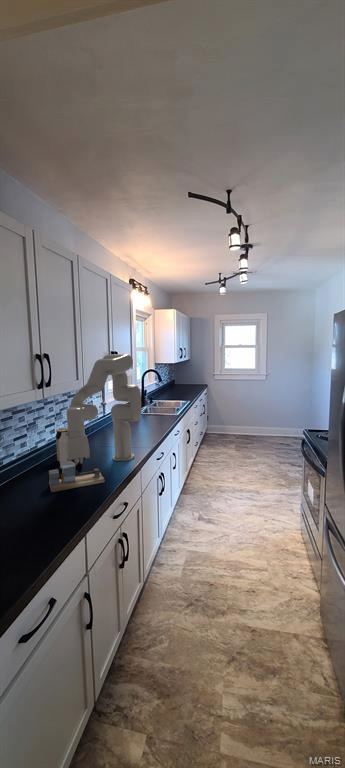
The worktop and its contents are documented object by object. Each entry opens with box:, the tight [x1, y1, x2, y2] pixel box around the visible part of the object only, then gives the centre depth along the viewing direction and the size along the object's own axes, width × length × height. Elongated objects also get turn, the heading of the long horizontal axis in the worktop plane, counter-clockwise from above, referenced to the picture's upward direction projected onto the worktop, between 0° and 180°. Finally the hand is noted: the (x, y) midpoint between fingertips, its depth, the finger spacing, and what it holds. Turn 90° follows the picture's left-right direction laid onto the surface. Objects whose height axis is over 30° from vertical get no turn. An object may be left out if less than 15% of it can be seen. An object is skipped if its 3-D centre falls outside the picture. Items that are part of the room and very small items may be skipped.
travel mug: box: [55, 427, 68, 462], centre depth 199 cm, size 8×8×18 cm
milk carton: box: [59, 432, 79, 469], centre depth 187 cm, size 7×7×19 cm
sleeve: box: [61, 463, 76, 484], centre depth 162 cm, size 6×5×7 cm
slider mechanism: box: [48, 467, 106, 493], centre depth 164 cm, size 10×24×8 cm, turn 114°
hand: (79, 471), depth 164 cm, fingers closed
